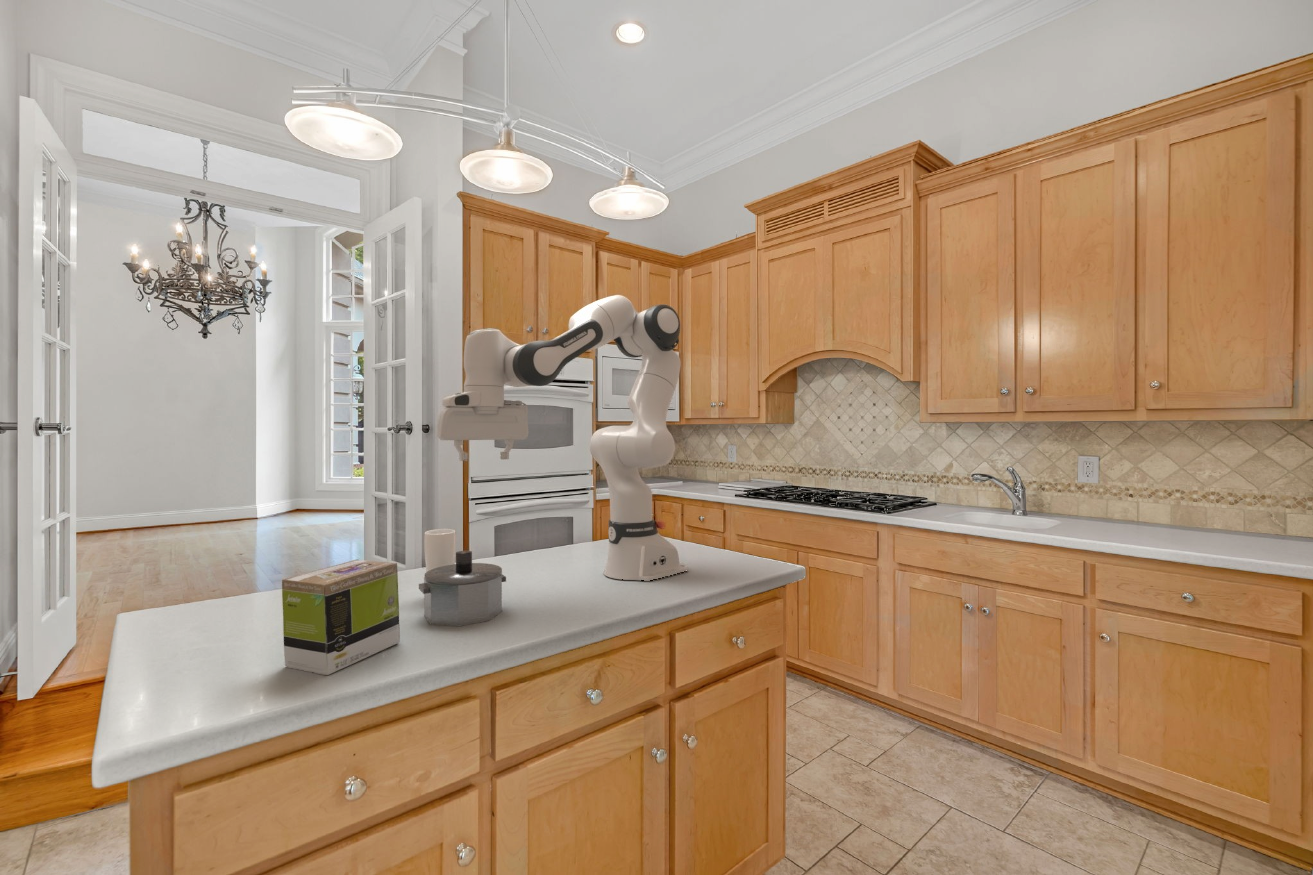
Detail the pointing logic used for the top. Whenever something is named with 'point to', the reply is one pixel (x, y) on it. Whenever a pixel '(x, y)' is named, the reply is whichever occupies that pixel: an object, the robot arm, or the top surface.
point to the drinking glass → (439, 548)
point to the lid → (463, 572)
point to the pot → (462, 602)
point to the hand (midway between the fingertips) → (484, 460)
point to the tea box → (340, 615)
